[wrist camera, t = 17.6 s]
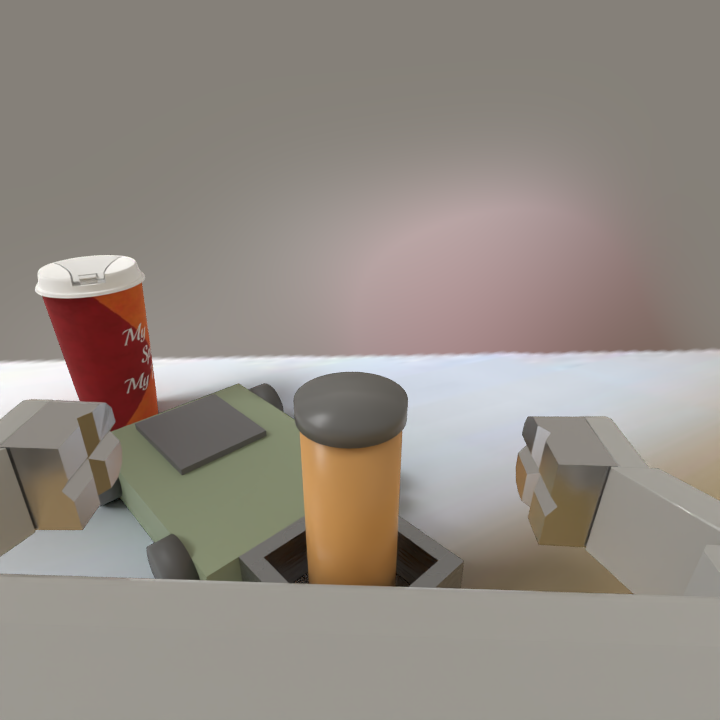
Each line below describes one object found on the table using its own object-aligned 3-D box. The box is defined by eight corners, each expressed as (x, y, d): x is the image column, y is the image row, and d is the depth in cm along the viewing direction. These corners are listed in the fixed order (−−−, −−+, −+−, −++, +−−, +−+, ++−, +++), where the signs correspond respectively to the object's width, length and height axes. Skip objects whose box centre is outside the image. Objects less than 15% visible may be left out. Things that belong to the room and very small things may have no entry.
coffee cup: (176, 432, 46) (145, 272, 40) (75, 455, 43) (24, 285, 37) (165, 391, 53) (138, 249, 47) (78, 408, 50) (35, 258, 43)
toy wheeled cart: (83, 482, 40) (71, 440, 38) (254, 410, 50) (251, 373, 48) (191, 636, 28) (180, 585, 26) (387, 501, 38) (389, 457, 36)
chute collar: (244, 599, 30) (238, 557, 29) (354, 524, 36) (354, 484, 34) (345, 716, 24) (344, 670, 23) (458, 604, 30) (463, 561, 28)
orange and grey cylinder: (288, 616, 29) (269, 407, 23) (339, 553, 33) (334, 363, 27) (369, 663, 27) (371, 442, 21) (413, 589, 31) (426, 388, 25)
